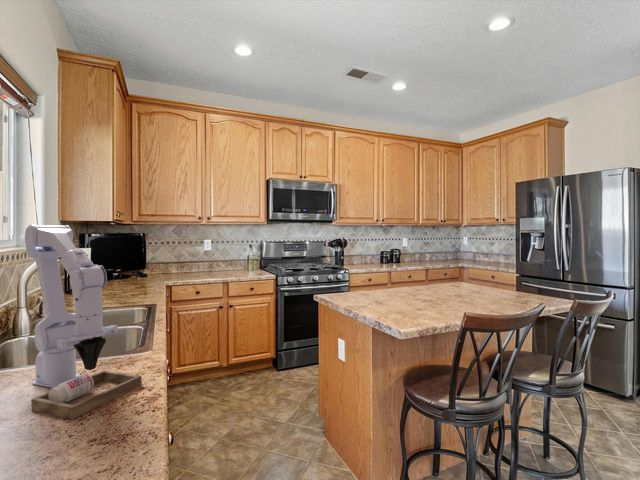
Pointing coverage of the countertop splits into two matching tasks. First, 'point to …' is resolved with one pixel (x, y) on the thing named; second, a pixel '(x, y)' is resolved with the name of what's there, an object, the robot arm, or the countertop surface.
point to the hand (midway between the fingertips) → (90, 368)
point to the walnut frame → (73, 411)
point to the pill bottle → (71, 389)
